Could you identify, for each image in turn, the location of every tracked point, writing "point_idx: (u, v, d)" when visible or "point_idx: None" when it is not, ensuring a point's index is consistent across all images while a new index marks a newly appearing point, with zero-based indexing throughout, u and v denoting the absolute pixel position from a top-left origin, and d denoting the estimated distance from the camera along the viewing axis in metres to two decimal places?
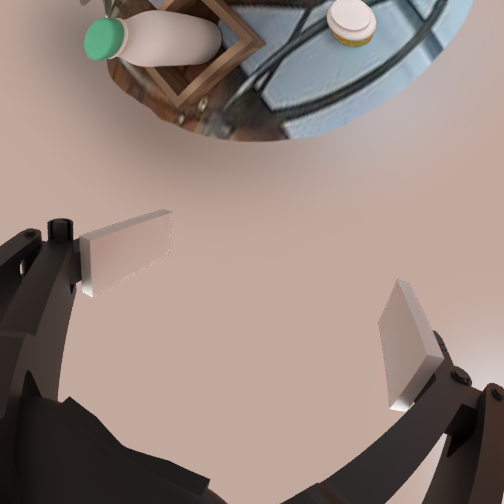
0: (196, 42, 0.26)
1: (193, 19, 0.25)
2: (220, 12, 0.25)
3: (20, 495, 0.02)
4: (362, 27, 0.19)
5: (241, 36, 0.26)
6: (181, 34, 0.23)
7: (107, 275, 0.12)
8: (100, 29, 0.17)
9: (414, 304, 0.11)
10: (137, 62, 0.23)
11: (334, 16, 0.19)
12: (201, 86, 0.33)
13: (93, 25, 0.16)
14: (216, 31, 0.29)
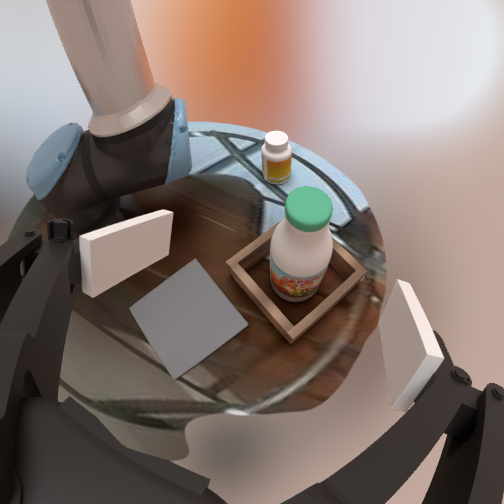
0: None
1: None
2: (272, 231, 0.42)
3: (19, 495, 0.02)
4: None
5: None
6: None
7: (107, 275, 0.12)
8: (298, 200, 0.26)
9: (414, 304, 0.11)
10: (330, 235, 0.31)
11: (281, 143, 0.44)
12: None
13: (291, 208, 0.26)
14: None
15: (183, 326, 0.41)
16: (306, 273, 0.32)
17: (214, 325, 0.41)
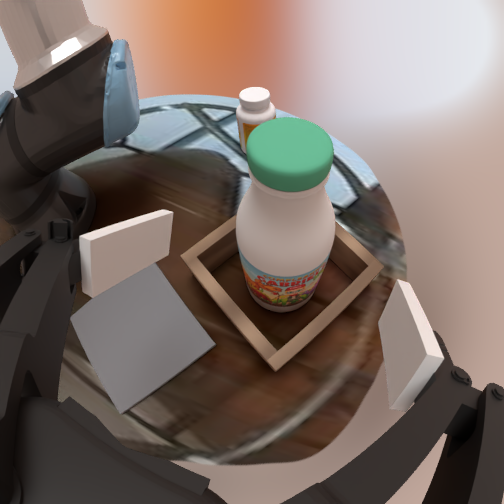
0: None
1: None
2: None
3: (19, 495, 0.02)
4: (265, 89, 0.33)
5: None
6: None
7: (107, 275, 0.12)
8: (271, 137, 0.14)
9: (414, 304, 0.11)
10: (331, 206, 0.19)
11: (260, 99, 0.32)
12: None
13: (256, 148, 0.13)
14: None
15: (130, 344, 0.28)
16: (293, 270, 0.19)
17: (169, 344, 0.28)
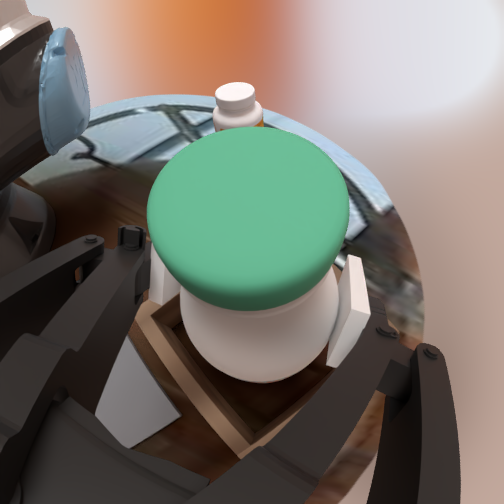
0: None
1: None
2: None
3: None
4: (249, 85, 0.25)
5: None
6: None
7: (175, 282, 0.13)
8: (202, 178, 0.06)
9: (356, 273, 0.13)
10: (334, 283, 0.11)
11: (241, 98, 0.24)
12: None
13: (162, 211, 0.06)
14: None
15: None
16: (266, 379, 0.12)
17: (128, 410, 0.21)
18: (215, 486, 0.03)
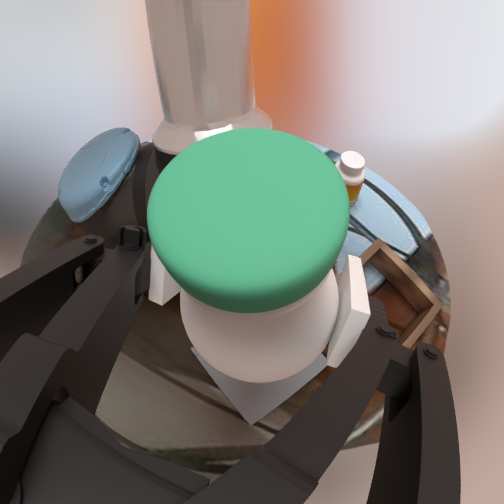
0: None
1: None
2: None
3: None
4: (360, 155, 0.41)
5: (377, 246, 0.39)
6: None
7: (175, 282, 0.13)
8: (202, 180, 0.06)
9: (356, 273, 0.13)
10: (334, 285, 0.11)
11: (359, 166, 0.40)
12: None
13: (162, 213, 0.06)
14: None
15: None
16: (266, 380, 0.12)
17: None
18: (215, 486, 0.03)
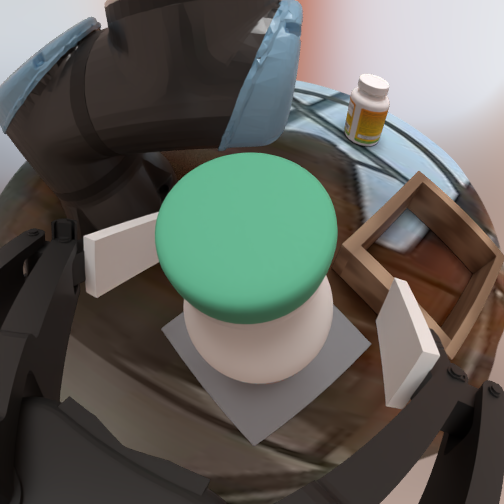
0: None
1: None
2: (397, 200, 0.25)
3: (19, 495, 0.02)
4: (382, 78, 0.28)
5: (419, 180, 0.26)
6: None
7: (111, 275, 0.12)
8: (204, 205, 0.07)
9: (411, 302, 0.11)
10: (328, 292, 0.12)
11: (383, 87, 0.27)
12: None
13: (168, 237, 0.06)
14: None
15: None
16: (265, 381, 0.12)
17: None
18: None
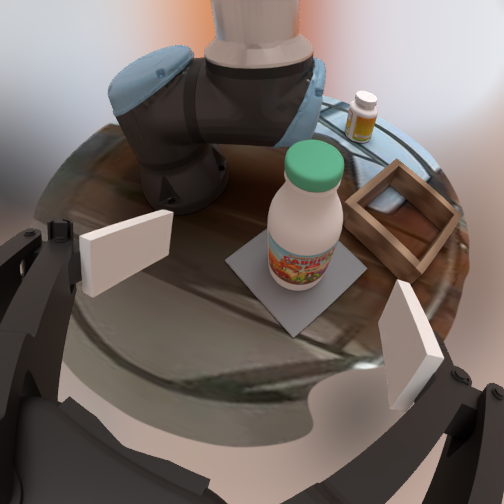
0: None
1: None
2: (380, 176, 0.39)
3: (19, 495, 0.02)
4: (372, 94, 0.42)
5: (396, 164, 0.40)
6: None
7: (107, 275, 0.12)
8: (302, 154, 0.20)
9: (414, 304, 0.11)
10: (340, 203, 0.25)
11: (372, 101, 0.41)
12: None
13: (293, 162, 0.20)
14: None
15: None
16: (312, 250, 0.26)
17: (333, 271, 0.37)
18: None
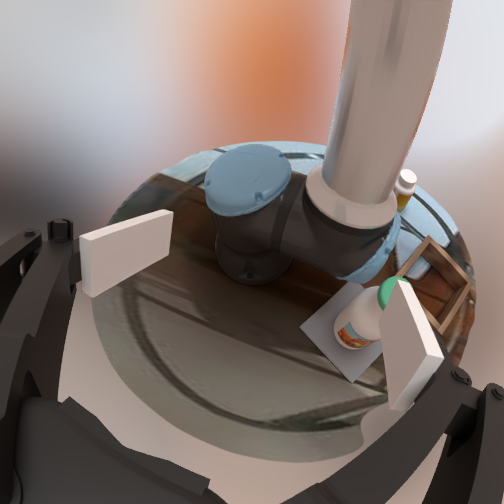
0: None
1: None
2: (416, 254, 0.47)
3: (19, 495, 0.02)
4: (412, 172, 0.51)
5: (428, 241, 0.48)
6: None
7: (107, 275, 0.12)
8: (390, 291, 0.29)
9: (414, 304, 0.11)
10: None
11: (413, 181, 0.49)
12: None
13: (386, 299, 0.29)
14: None
15: None
16: (380, 337, 0.35)
17: None
18: None
